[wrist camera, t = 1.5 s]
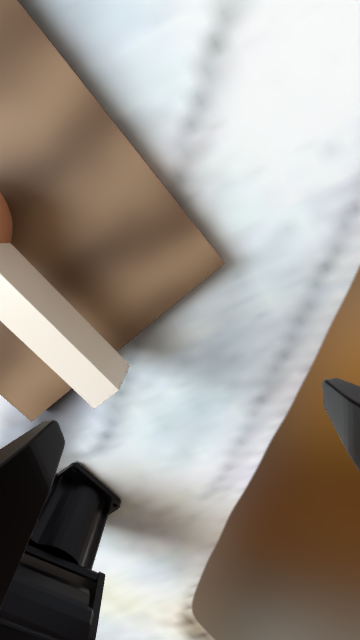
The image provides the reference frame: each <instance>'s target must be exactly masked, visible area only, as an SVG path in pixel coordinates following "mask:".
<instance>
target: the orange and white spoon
mask: <svg viewBox="0 0 360 640" xmlns="http://www.w3.org/2000/svg"><path fill="white" fill-rule="evenodd" d="M12 230H13V229H12V218H11V214H10V210H9V208H8V205H7V203H6V201H5V199H4V197H3V195H2V194H1V192H0V321H1V322H2V323H3V324H4V325H5V326H6V327H8V328H9V329H10V330H11V331H12V332H13V333H14V334H15V335H16V336H17V337H18V338H19V339H20V340H21V341H22V342H24V343H25V344H26V345H27V346H28V347H29V348H30V349H31V350H32V351H33V352H34V353H35V354H36V355H37V356H38V357H40V358H41V359H42V360H43V361H44V362H45V363H46V364H47V365H48V366H49V367H50V368H51V369H52V370H53V371H55V372H56V373H57V374H58V375H59V376H60V377H61V378H62V379H63V380H64V381H65V382H66V383H67V384H68V385H69V386H71V387H72V388H73V389H74V390H75V391H76V392H77V393H78V394H79V395H80V396H81V397H82V398H83V399H84V400H85V401H87V402H88V403H89V404H90V405H91V406H92V407H93V408H94V409H95V408H96V407H97V406H99V405H100V404H101V403H103V402H104V401H105V400H106V399H108V398H109V397H110V396H112V395H113V394H114V393H116V392H117V391H118V390H119V388H120V386H121V384H122V382H123V380H124V378H125V376H126V373H127V371H128V369H129V367H130V365H129V364H128V363H127V362H126V361H125V360H124V359H123V358H122V357H121V356H120V355H119V354H118V353H117V351H116V350H115V349H114V348H113V347H112V346H111V345H110V344H109V343H108V342H107V341H106V340H105V339H104V338H103V337H102V336H101V335H100V334H99V333H98V332H97V331H96V330H95V329H94V328H93V327H92V326H91V325H90V324H89V323H88V322H87V321H86V320H85V319H84V318H83V317H82V316H81V315H80V314H79V313H78V312H77V311H76V310H75V309H74V308H73V307H72V305H71V304H70V303H69V302H68V301H67V300H66V299H65V298H64V297H63V296H62V295H61V294H60V293H59V292H58V291H57V290H56V289H55V288H54V287H53V286H52V285H51V284H50V283H49V282H48V281H47V280H46V279H45V278H44V277H43V276H42V275H41V274H40V273H39V272H38V271H37V270H36V269H35V268H34V267H33V266H32V265H31V264H30V263H29V262H28V261H27V260H26V258H25V257H24V256H23V255H22V254H21V253H20V252H19V251H18V250H17V249H16V248H15V247H14V246H13V245H12V244H11V243H10V242H11V238H12Z"/></svg>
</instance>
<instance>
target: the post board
mask: <svg viewBox="0 0 360 640" xmlns="http://www.w3.org/2000/svg"><path fill="white" fill-rule="evenodd" d="M0 192H1V194H2V195H3V197H4V199H5V201H6V203H7V205H8V208H9V210H10V214H11V218H12V229H13V230H12V238H11V242H10V243H11V244H12V245H13V246H14V247H15V248H16V249H17V250H18V251H19V252H20V253H21V254H22V255H23V256H24V257H25V258H26V260H27V261H28V262H29V263H30V264H31V265H32V266H33V267H34V268H35V269H36V270H37V271H38V272H39V273H40V274H41V275H42V276H43V277H44V278H45V279H46V280H47V281H48V282H49V283H50V284H51V285H52V286H53V287H54V288H55V289H56V290H57V291H58V292H59V293H60V294H61V295H62V296H63V297H64V298H65V299H66V300H67V301H68V302H69V303H70V304H71V305H72V307H73V308H74V309H75V310H76V311H77V312H78V313H79V314H80V315H81V316H82V317H83V318H84V319H85V320H86V321H87V322H88V323H89V324H90V325H91V326H92V327H93V328H94V329H95V330H96V331H97V332H98V333H99V334H100V335H101V336H102V337H103V338H104V339H105V340H106V341H107V342H108V343H109V344H110V345H111V346H112V347H113V348H114V349H115V350H116V351H118V350H119V349H121V348H122V347H123V346H124V345H125V344H127V343H128V342H129V341H130V340H131V339H133V338H134V337H135V336H136V335H138V334H139V333H140V332H141V331H142V330H144V329H145V328H146V327H147V326H149V325H150V324H151V323H152V322H153V321H155V320H156V319H157V318H158V317H160V316H161V315H162V314H163V313H164V312H166V311H167V310H168V309H169V308H171V307H172V306H173V305H174V304H175V303H177V302H178V301H179V300H180V299H181V298H183V297H184V296H185V295H186V294H188V293H189V292H190V291H191V290H192V289H194V288H195V287H196V286H197V285H199V284H200V283H201V282H202V281H203V280H205V279H206V278H207V277H208V276H210V275H211V274H212V273H213V272H214V271H216V270H217V269H218V268H219V267H221V266H222V265H223V264H224V261H223V260H222V259H221V258H220V256H219V255H218V254H217V253H216V251H215V250H214V249H213V247H212V246H211V245H210V244H209V242H208V241H207V240H206V239H205V237H204V236H203V235H202V234H201V232H200V231H199V230H198V228H197V227H196V226H195V225H194V223H193V222H192V221H191V220H190V218H189V217H188V216H187V215H186V213H185V212H184V211H183V209H182V208H181V207H180V206H179V204H178V203H177V202H176V201H175V199H174V198H173V197H172V196H171V194H170V193H169V192H168V190H167V189H166V188H165V187H164V185H163V184H162V183H161V182H160V180H159V179H158V178H157V177H156V175H155V174H154V173H153V171H152V170H151V169H150V168H149V166H148V165H147V164H146V163H145V161H144V160H143V159H142V158H141V156H140V155H139V154H138V152H137V151H136V150H135V149H134V147H133V146H132V145H131V144H130V142H129V141H128V140H127V138H126V137H125V136H124V135H123V133H122V132H121V131H120V130H119V128H118V127H117V126H116V125H115V123H114V122H113V121H112V119H111V118H110V117H109V116H108V114H107V113H106V112H105V111H104V109H103V108H102V107H101V106H100V104H99V103H98V102H97V100H96V99H95V98H94V97H93V95H92V94H91V93H90V92H89V90H88V89H87V88H86V87H85V85H84V84H83V83H82V81H81V80H80V79H79V78H78V76H77V75H76V74H75V73H74V71H73V70H72V69H71V68H70V66H69V65H68V64H67V62H66V61H65V60H64V59H63V57H62V56H61V55H60V54H59V52H58V51H57V50H56V49H55V47H54V46H53V45H52V43H51V42H50V41H49V40H48V38H47V37H46V36H45V35H44V33H43V32H42V31H41V30H40V28H39V27H38V26H37V24H36V23H35V22H34V21H33V19H32V18H31V17H30V16H29V14H28V13H27V12H26V11H25V9H24V8H23V7H22V5H21V4H20V3H19V2H18V0H0ZM70 389H72V387H71V386H69V385H68V384H67V383H66V382H65V381H64V380H63V379H62V378H61V377H60V376H59V375H58V374H57V373H56V372H55V371H53V370H52V369H51V368H50V367H49V366H48V365H47V364H46V363H45V362H44V361H43V360H42V359H41V358H40V357H38V356H37V355H36V354H35V353H34V352H33V351H32V350H31V349H30V348H29V347H28V346H27V345H26V344H25V343H24V342H22V341H21V340H20V339H19V338H18V337H17V336H16V335H15V334H14V333H13V332H12V331H11V330H10V329H9V328H8V327H6V326H5V325H4V324H3V323H2V322H1V321H0V395H1V396H3V397H4V398H5V399H6V400H7V401H8V402H9V403H11V404H12V405H13V406H14V407H15V408H16V409H18V410H19V411H20V412H21V413H22V414H23V415H25V416H26V417H27V418H28V419H29V420H30V421H33V420H34V419H35V418H36V417H38V416H39V415H40V414H41V413H42V412H44V411H45V410H46V409H47V408H49V407H50V406H51V405H52V404H53V403H55V402H56V401H57V400H58V399H60V398H61V397H62V396H63V395H64V394H66V393H67V392H68V391H69V390H70Z"/></svg>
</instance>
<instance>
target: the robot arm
mask: <svg viewBox="0 0 360 640" xmlns="http://www.w3.org/2000/svg"><path fill="white" fill-rule="evenodd" d="M322 386H323V403H324V407H325V410H326V411H327V414H328V416H329V418H330V419H331V421H332V423H333V425H334V427H335V429H336V431H337V433H338V435H339V437H340V439H341V441H342V442H343V445H344V446H345V448H346V450H347V452H348V454H349V455H350V457H351V459H352V460H353V462H354V463H355V465H356V466H357V468H358V469H359V471H360V386H357V385H354V384H352V383H349V382H346V381H344V380H341V379H338V378H333V379H326V380H324V381H323V385H322ZM64 445H65V440H64V436H63V434H62V431H61V429H60V426H59V424H58V422H57V421H55V420H50V421H44V422H42V423H41V424H39V425H37V426H36V427H34V428H33V429H31V430H30V431H28V432H26V433H25V434H23V435H22V436H20V437H19V438H17V439H16V440H14V441H12V442H11V443H9V444H8V445H6V446H5V447H3V448H1V449H0V640H95V638H96V632H97V626H98V619H99V613H100V606H101V600H102V593H103V587H104V580H105V574H104V573H101V572H98V573H97V572H95V571H92V567H93V563H94V560H95V557H96V553H97V550H98V547H99V543H100V540H101V537H102V533H103V530H104V527H105V523H106V520H107V517H108V515H109V514H111V513H112V512H114V511H115V510H117V509H118V508H120V504H121V501H120V499H119V498H117V497H116V496H115V495H114V494H113V493H112V492H110V491H109V490H108V489H107V488H106V487H105V486H104V485H102V484H101V483H100V482H99V481H98V480H97V479H95V478H94V477H93V476H92V475H91V474H90V473H88V472H87V471H86V470H85V469H84V468H83V467H82V466H80V465H79V464H78V463H72V464H70V465H69V466H68V467H66V468H65V469H64V470H62V471H61V472H59V473H58V474H57V473H56V471H57V468H58V465H59V462H60V458H61V455H62V452H63V449H64Z"/></svg>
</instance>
